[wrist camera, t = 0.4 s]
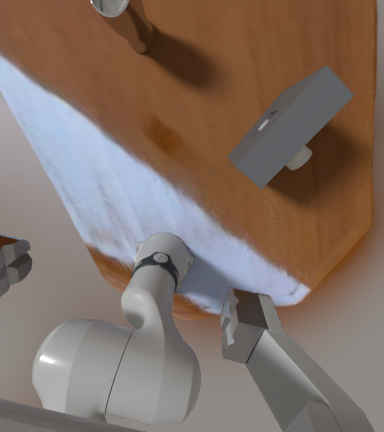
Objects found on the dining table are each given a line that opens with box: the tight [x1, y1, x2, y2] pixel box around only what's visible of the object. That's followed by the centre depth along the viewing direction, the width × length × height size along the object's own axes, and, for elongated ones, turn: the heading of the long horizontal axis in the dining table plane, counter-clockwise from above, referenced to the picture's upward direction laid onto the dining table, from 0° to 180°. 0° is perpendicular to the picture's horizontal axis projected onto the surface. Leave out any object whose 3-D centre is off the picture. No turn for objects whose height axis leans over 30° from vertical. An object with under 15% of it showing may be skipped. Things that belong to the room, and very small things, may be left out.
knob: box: [258, 119, 312, 170], centre depth 40 cm, size 11×5×5 cm, turn 51°
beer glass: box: [90, 0, 155, 53], centre depth 35 cm, size 7×7×15 cm
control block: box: [228, 65, 354, 189], centre depth 39 cm, size 6×18×18 cm, turn 141°
